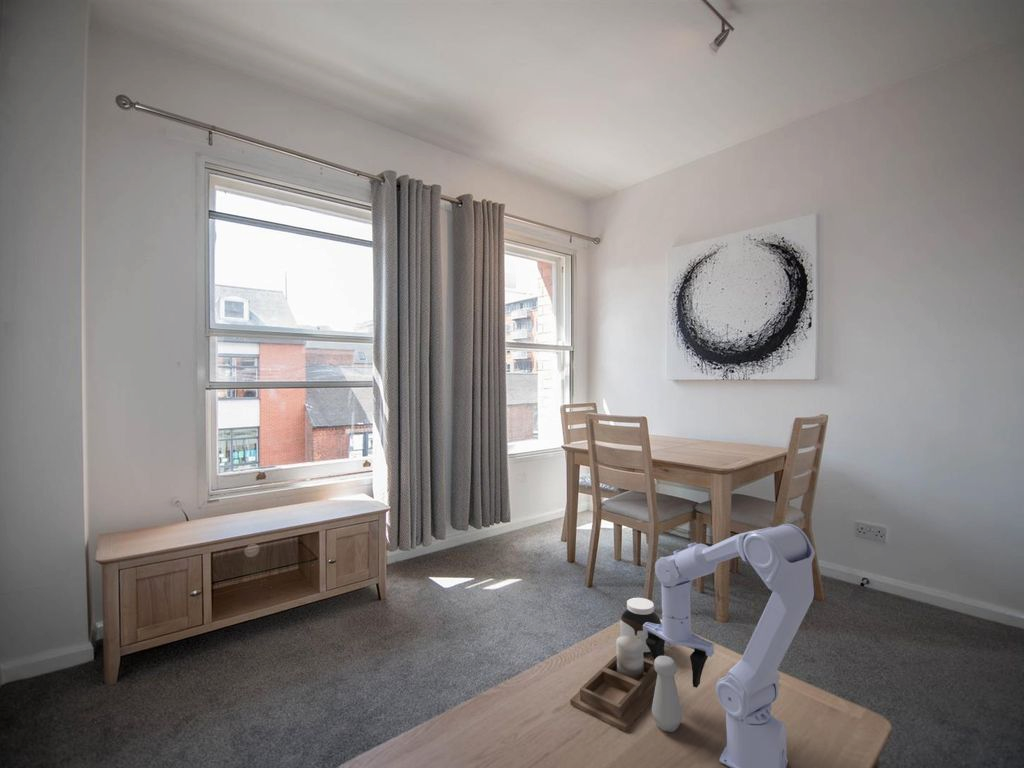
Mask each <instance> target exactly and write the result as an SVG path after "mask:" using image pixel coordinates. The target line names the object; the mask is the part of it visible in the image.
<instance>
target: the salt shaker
mask: <svg viewBox="0 0 1024 768" xmlns="http://www.w3.org/2000/svg"><path fill="white" fill-rule="evenodd" d="M653 661H654V662H653V663H654V667H655V671H656V672H657V673H658V674H657V680H656V686H655V692H654V698H653V699H652V704H651V714H652V717H653V720H654V722H655V724H656V726H657V727H658V728H659V729H661V731H663V732H669V733H674V732H675V731H676V730H677V729H678V728H679V727H680V724H681V722H682V720H683V714H682V713H683V712H682V709H681V704H680V699H679V694H678V690H677V689H678V687H677V685H676V679H675V674H677V664H676V661H675V660H674V659H673V658H672V657H670V656H669V655H668V656H667V655H664V656H658V657H657V658H656V659H655V660H654V659H653Z"/></svg>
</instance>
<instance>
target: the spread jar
mask: <svg viewBox="0 0 1024 768" xmlns="http://www.w3.org/2000/svg"><path fill="white" fill-rule="evenodd" d="M646 622H649V623H654V624H660V625H663V624H662V619H661V617H660V616H659V615H658V614H657V612H655V605H654V602H653V601H652V600H651V599H648V598H644V597H632V598H630V599H628V600H626V609H625V610H623V612H622V613H621V615H620V625H619V626H620V637H621V636H634V637H637V638H639V639H640V640H641V641H642V642H643V657H644V656H651V655H652V653H651V651H650V649H649V648H648V646H647V644H646V639H647V638H648V635H645V634H643V625H644V624H645V623H646ZM664 646H666V647H667V648H669V649H671V648H672V647H674V646H676V645H675V644H671V643H669V642H667V641H665V644H664Z"/></svg>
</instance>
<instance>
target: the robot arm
mask: <svg viewBox="0 0 1024 768" xmlns="http://www.w3.org/2000/svg"><path fill="white" fill-rule="evenodd" d="M672 553H673V554H671V555H668V556H660V557H659V558H658V559H657V560H656V561H655V563H654V572H655V576H656V578H657V579H658V581H659V582H660V584H661V616H662V617H661V618H662V619H661V620H662V624H663V625H660V624H654V623H649V622H646V623H645V624H644V625H643V634H645V635H648V638H647V639H646V644H647V646H648V648H649V649H650V651H651V653H652V654H651V655H652V658H653V661H654V660H655V659H656V658H657V657H658V656H665V641H667V642H669V643H671V644H675V645H674V646H681V647H686V648H689V649H692V650H693V652H692V653H691V654H690V655H689V659H690V664H691V671H692V687H693V688H695V689H697V688H698V687H699V686H700V684H701V678H702V674H703V670H704V667H705V665H706V662H707V661H708V658H711V657H712V656H713V655H714V653H715V642H714V643H713V642H710V641H708V640H707V639H704V638H702V637H700V636H699V635H697V634H696V633H693V632H692V619H691V618H692V617H691V616H692V613H691V590H692V583H693V581H694V580H696V579H698V578H702V577H704V576H707V575H710V574H713V573H714V572H716V571H717V568H718V564H719V563H721V562H725V561H728V560H732V559H734V558H735V559H736V558H738V557H740V558H741V560H742V562H749V564H750V565H751V567H752V568H753V569H754V570H755V572H756V573H757V575H758V576H759V577H760V578H761V580H762V582H763V583H764V584H765V585H766V587H767V588H768V590H770V591H771V592H772V593H771V595H770V597H769V599H768V602H767V603H766V604H765V608H764V610H763V612H762V614H761V616H760V618H759V620H758V622H757V625H756V626H755V629H754V631H753V633H752V635H751V637H750V640H749V641H748V644H747V646H746V648H745V650H744V653H743V655H742V657H741V658H740V660H739V661H737V663H735V665H733V666H732V667H731V668H730V669H729V670H728V672H727V674H726V675H725V676H724V677H722V678H719V679H718V680H717V681H716V684H715V694H716V697H717V700H718V702H719V704H720V706H721V707H722V708H723V711H725V722H726V723H725V725H726V726H725V727H726V745H725V747H724V749H723V751H722V752H721V754H720V757H719V762H720V763H721V764H723V765H725V766H727V767H728V768H787V766H788V762H789V760H788V757H787V755H788V753H787V752H788V750H787V729H786V724H785V722H783V721H781V720H780V719H778V718H777V717H775V716H774V715H772V714H771V712H772V703H775V702H776V701H777V700H778V698H779V688H778V687H779V686H778V685H779V681H780V679H781V676H780V673H778V669H779V667H780V665H781V662H782V661H783V659H784V657H785V655H786V653H787V651H788V649H789V647H790V646H791V644H792V642H793V640H794V638H795V635H796V634H797V632H798V630H799V628H800V626H801V624H802V622H803V620H804V618H805V617H806V614H807V613H808V610H809V608H810V606H811V604H812V603H813V600H814V596H815V588H814V577H813V566H812V565H813V560H814V558H815V555H816V551H815V548H814V547H813V545H812V543H811V541H810V539H809V537H808V536H807V534H806V533H805V532H804V531H803V530H802V529H801V528H800V527H798V526H797V525H794V524H792V523H782V524H779V525H778V526H771V527H769V526H768V527H764V528H760V529H755V530H750V531H745V532H742V533H738V534H735V535H733V536H730V537H728V538H726V539H724V540H721V541H720V542H717V543H715V544H713V545H711V546H709V545H707V544H704V543H697V541H696V542H691V543H689V544H687V548H685V549H683V550H680V549H676V550H674V551H673V552H672Z"/></svg>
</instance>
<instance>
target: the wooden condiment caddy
mask: <svg viewBox="0 0 1024 768" xmlns="http://www.w3.org/2000/svg"><path fill="white" fill-rule="evenodd" d="M615 641H616V642H615V643H616V645H615V646H616V648H615V649H616V655H615V656H613V658H611V660H609V661H608V662H607V663H605V665H604V666H603V667H602V668H601V669H600V670H598V672H597V673H595V674H594V675H593V676H592V677H591V678H590V679H589V680H588V681H586V683H584V685H582V686H581V687H580V688H579V691H578V692H576V694H575V695H574V696H573V697H572V698H570V699H569V700H570V705H571V706H573V707H575V708H577V709H579V710H580V711H583V712H585V713H587V714H589V715H591V716H593V717H595V718H596V719H599V720H601V721H603V722H605V723H607V724H608V725H611V726H612V727H615V728H617V729H619V730H621V731H623V732H625V733H627V731H628V730H629V729H630V727H632V725H633V724H634V722H636V720H637V719H638V717H640V716H641V714H643V711H645V709H646V708H647V707H648V706H649V705H650V703H651V702H653V698H654V692H655V686H656V680H657V674H658V673H657V672H656V671H655V667H654V662H653V661H650V660H648V659H644V656H643V642H642V641H641V640H640V639H639V638H637V637H634V636H621V635H620V636H619V637H617V639H616V640H615Z"/></svg>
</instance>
